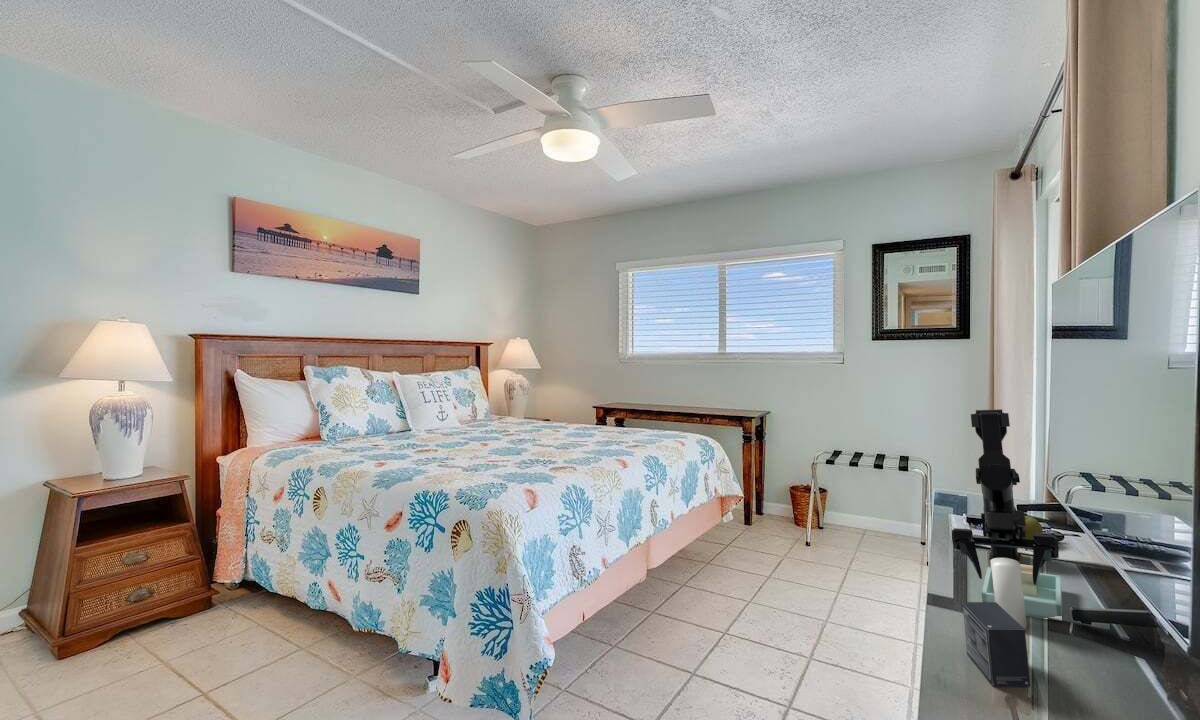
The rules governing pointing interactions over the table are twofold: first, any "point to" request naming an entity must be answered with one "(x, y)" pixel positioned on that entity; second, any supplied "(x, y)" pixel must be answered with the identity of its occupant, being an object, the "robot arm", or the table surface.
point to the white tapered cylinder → (1009, 588)
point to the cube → (1028, 580)
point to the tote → (1035, 606)
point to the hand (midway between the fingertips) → (1007, 581)
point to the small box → (996, 644)
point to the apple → (1032, 528)
